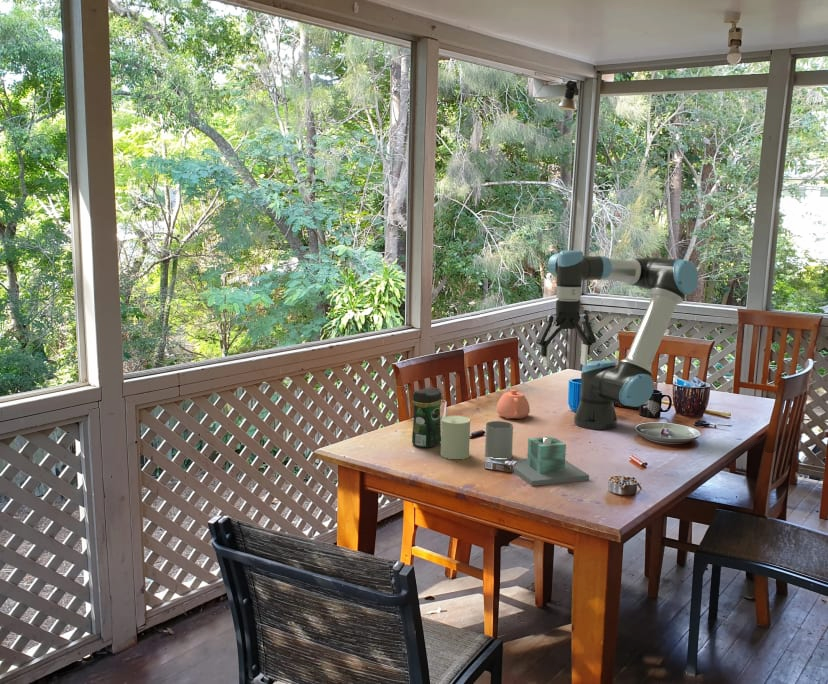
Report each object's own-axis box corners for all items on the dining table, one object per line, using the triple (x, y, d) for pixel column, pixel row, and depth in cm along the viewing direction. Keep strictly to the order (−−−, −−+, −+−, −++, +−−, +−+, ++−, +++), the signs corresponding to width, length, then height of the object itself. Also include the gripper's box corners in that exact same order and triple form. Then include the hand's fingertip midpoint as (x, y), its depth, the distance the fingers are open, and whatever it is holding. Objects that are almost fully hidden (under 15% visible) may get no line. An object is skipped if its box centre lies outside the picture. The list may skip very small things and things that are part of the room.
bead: (551, 462, 229) (552, 436, 228) (564, 470, 222) (566, 444, 220) (527, 464, 227) (528, 438, 225) (539, 473, 219) (540, 446, 218)
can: (435, 457, 236) (436, 419, 234) (445, 449, 245) (446, 412, 243) (464, 461, 233) (465, 423, 231) (473, 452, 241) (474, 416, 239)
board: (558, 460, 236) (558, 455, 235) (588, 480, 219) (589, 475, 218) (504, 465, 230) (504, 460, 230) (531, 486, 213) (532, 480, 213)
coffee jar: (424, 438, 256) (426, 384, 252) (444, 443, 251) (446, 387, 248) (407, 445, 248) (408, 389, 245) (427, 450, 243) (428, 393, 240)
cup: (484, 451, 243) (485, 420, 242) (510, 451, 243) (511, 421, 241) (485, 459, 235) (487, 428, 233) (512, 460, 235) (514, 429, 233)
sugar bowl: (526, 412, 291) (527, 386, 289) (533, 422, 277) (534, 395, 275) (494, 412, 291) (495, 385, 289) (499, 422, 277) (500, 394, 275)
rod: (547, 466, 226) (549, 436, 224) (551, 468, 223) (553, 438, 222) (540, 466, 225) (541, 437, 223) (544, 469, 223) (545, 439, 221)
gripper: (538, 301, 235) (535, 369, 238) (609, 300, 242) (605, 366, 246) (527, 299, 242) (524, 365, 245) (596, 297, 249) (592, 361, 253)
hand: (564, 365), depth 246 cm, fingers open, 13 cm apart
